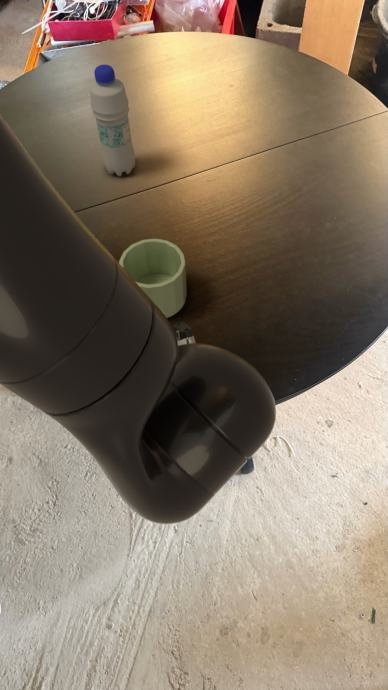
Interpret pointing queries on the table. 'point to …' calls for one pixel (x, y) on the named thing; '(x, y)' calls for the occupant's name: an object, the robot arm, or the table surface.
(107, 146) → the bottle
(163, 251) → the green cup
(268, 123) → the table surface
